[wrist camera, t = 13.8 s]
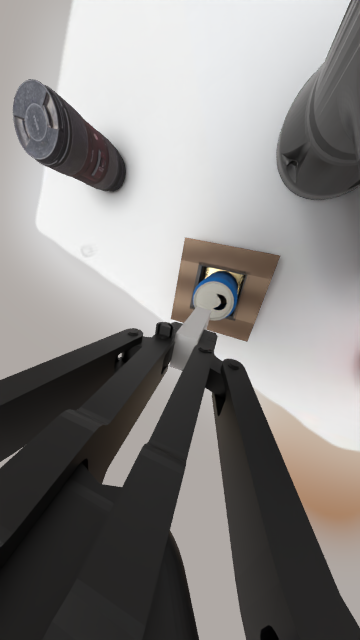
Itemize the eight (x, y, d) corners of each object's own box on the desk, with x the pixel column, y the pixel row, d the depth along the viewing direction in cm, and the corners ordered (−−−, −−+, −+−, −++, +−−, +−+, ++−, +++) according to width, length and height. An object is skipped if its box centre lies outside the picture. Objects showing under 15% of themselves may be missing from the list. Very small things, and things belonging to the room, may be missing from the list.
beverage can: (232, 306, 36) (230, 328, 26) (201, 298, 38) (187, 317, 27) (241, 273, 34) (243, 283, 23) (208, 267, 35) (194, 274, 24)
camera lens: (120, 136, 33) (39, 56, 20) (134, 185, 35) (70, 143, 22) (88, 157, 36) (-1, 100, 23) (103, 201, 38) (29, 173, 25)
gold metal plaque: (208, 264, 36) (207, 264, 35) (244, 272, 34) (244, 272, 34) (200, 298, 39) (199, 299, 38) (233, 306, 37) (233, 308, 36)
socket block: (193, 240, 35) (185, 237, 30) (272, 255, 32) (280, 255, 27) (180, 309, 41) (170, 318, 36) (245, 328, 38) (247, 341, 32)
